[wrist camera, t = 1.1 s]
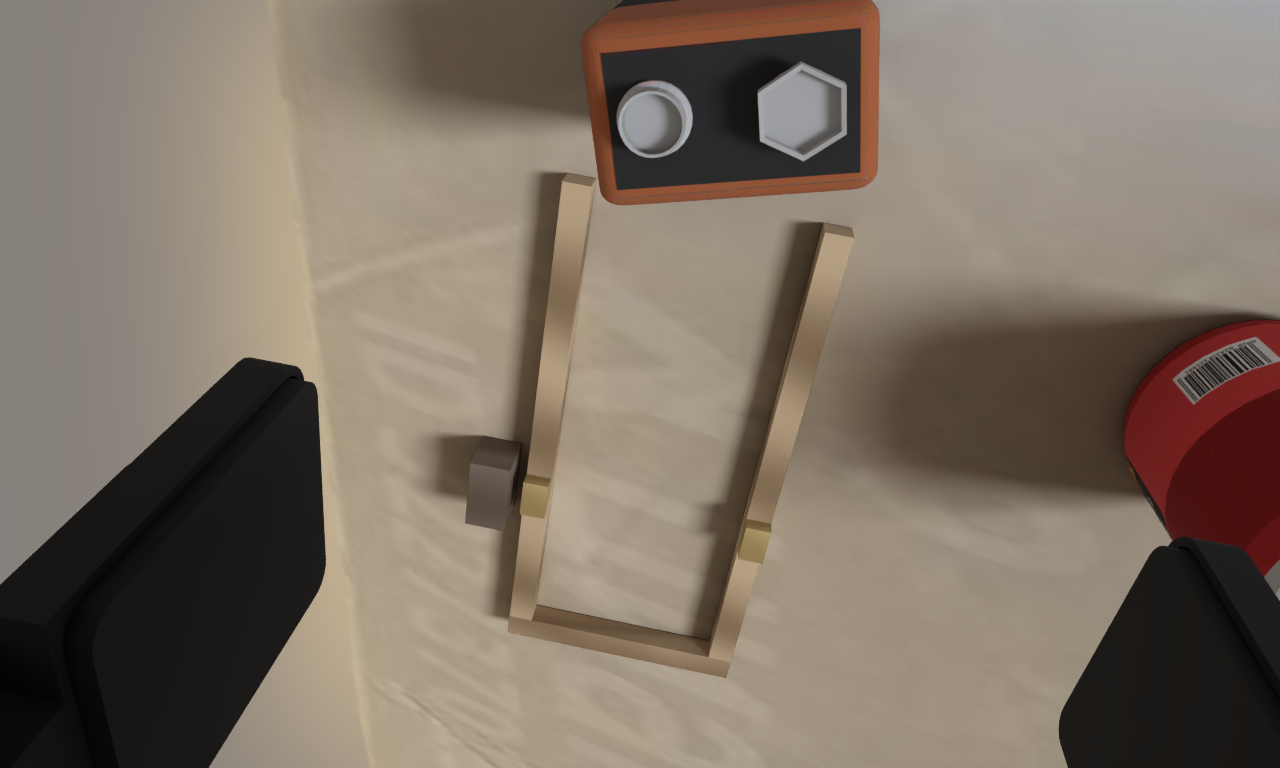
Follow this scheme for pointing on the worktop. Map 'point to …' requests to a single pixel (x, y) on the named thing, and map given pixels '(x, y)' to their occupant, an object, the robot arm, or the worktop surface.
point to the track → (501, 459)
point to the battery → (733, 98)
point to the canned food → (1214, 440)
